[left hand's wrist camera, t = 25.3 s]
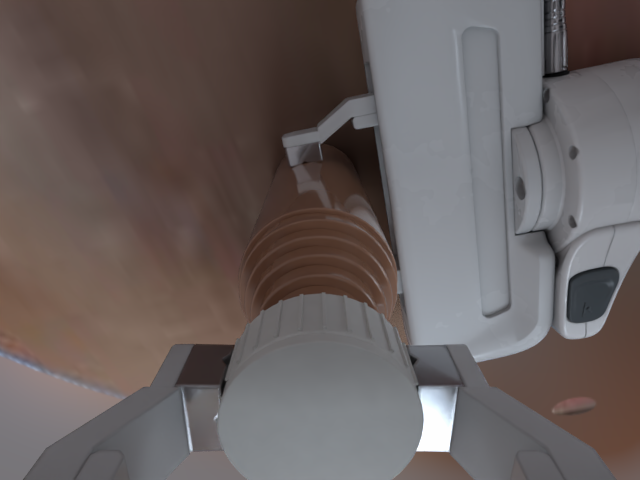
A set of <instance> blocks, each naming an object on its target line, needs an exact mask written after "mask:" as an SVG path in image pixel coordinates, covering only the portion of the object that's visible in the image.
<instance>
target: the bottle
mask: <svg viewBox="0 0 640 480" xmlns="http://www.w3.org/2000/svg"><path fill="white" fill-rule="evenodd" d="M321 148H322V154H323V161H319V162H310V163H308V162H306V161H304V162H303V163H302V164H300V165H298V166H293V167H290V166H288V162H287V158H286V156H285V157H284V158H283V160H282V161H281V163H280V164H279V166H278V168H277V171H276V173H275V176H274V178H273V181H272V183H271V186H270V189H269V191H268V194H267V196H266V199H265V201H264V204H263V206H262V209H261V211H260V214H259V216H258V219H257V221H256V224H255V226H254V229H253V232H252V234H251V237H250V239H249V242H248V244H247V247H246V249H245V252H244V254H243V257H242V259H241V263H240V268H239V277H238V281H239V298H240V303H241V307H242V310H243V313H244V315H245V317H246V319H247V321H248V323H251V322H252V321H253V320H254V319H255V318H256V317H257V316H259V315H260V312H261V311H262V310H264V311H265V310H267V309H268V308H270V307H272V306H273V305H275V304H277V303H279V301H280V300H282V301H284V300H287V299H290V298H293V297H297V296H300V294H303V295H308V294H320V293H321V294H322V292H325V294H332V295H339V296H344V295H346V296H347V298H351V299H354V300H356V301H359V302H362V303H364V302H365V303H367V305H368V306H369V307H371V308H372V309H374V310H375V311H377V312H378V313H379V314H381V313H383V314H384V316H385V319H386V320H387V321H389V319H390V318H391V316H392V313H393V310H394V308H395V304H396V300H397V282H398V277H397V267H396V262H395V259H394V256H393V254H392V251H391V249H390V246H389V244H388V242H387V240H386V237H385V235H384V233H383V231H382V228H381V226H380V224H379V221H378V219H377V217H376V215H375V212H374V210H373V208H372V206H371V203H370V201H369V199H368V196H367V194H366V192H365V190H364V187H363V185H362V183H361V180H360V178H359V176H358V174H357V171H356V169H355V167H354V165H353V163H352V162H351V160H350V159H349V158H348V157H347V156H346V154H344V153H343V152H342V151H341V150H339V149H337V148H336V147H333V146H331V145H328V144H323V143H322V144H321Z"/></svg>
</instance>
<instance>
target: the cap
mask: <svg viewBox="0 0 640 480" xmlns="http://www.w3.org/2000/svg"><path fill="white" fill-rule="evenodd" d="M225 381H226V384H225V387H224V390H223V393H222V396H219V399H221V403H220V406H219V410H218V418H217V425H218V434H219V438H220V442H221V445H222V447H223V450H224V452H225V454H226V456H227V457H228V459H229V461H230V462H231V463H232V464H233V466H234V467H235V468H236V469H237V470H238V471H239V472H240V473H241V474H242V475H243V476H244V477H245V478H246V479H248V480H392V479H393V478H394V477H396V476H397V475H398V474H399V473H400V472H401V471H402V470H403V469H404V468H405V467H406V466H407V465H408V463H409V462H410V460H411V459H412V458H413V456H414V454H415V452H416V451H417V449H418V447H419V444H420V441H421V438H422V433H423V427H424V414H423V408H422V403H421V400H420V397H419V394H418V391H417V388H416V386H417V385H419V384H418V381H417V378H416V375H415V372H414V369H413V366H412V363H411V360H410V357H409V354H408V351H407V348H406V345H405V343H402V342H401V340H400V336H399V333H398V330H397V328H396V327H394V328H393V327H392V325H391V324H390V323H389V322H388V321H387V320H386V319H385V316H384V314H383V313H381V314H379V313H378V312H377V311H375V310H374V309H372V308H371V307H369V306H368V305H367V303H365V302H364V303H362V302H359V301H356V300H354V299H351V298H347V296H346V295H344V296H339V295H332V294H325V292H322V294H321V293H320V294H308V295H303V294H300V296H297V297H293V298H290V299H287V300H284V301H282V300H280V301H279V303H277V304H275V305H273V306H272V307H270V308H268V309H267V310H265V311H264V310H262V311H261V312H260V315H259V316H257V317H256V318H255V319H254V320H253V321H252V322H251V323H247V325H246V327H245V331H244V333H243V334H242V336H241V338H240V339H238V338H237V340H236V343H235V346H234V350H233V353H232V357H231V360H230V363H229V365H228V369H227V373H226V377H225Z"/></svg>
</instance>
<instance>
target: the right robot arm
mask: <svg viewBox="0 0 640 480" xmlns="http://www.w3.org/2000/svg"><path fill="white" fill-rule="evenodd" d="M564 9H565V0H357V3H356V14H357V21H358V28H359V34H360V41H361V47H362V54H363V61H364V67H365V74H366V80H367V87H368V93H367V94H362V95H358V96H353V97H348V98H345V99H344V100H343V101H342V102H341V103H340V104H339V105H338V106H337V107H336V108H335V109H333V110H332V111H331V112H330V113H329V114H328V115H327V116H326V117H325V118H324V119H322V120H321V121H320V122H319V123H318V124H317V127H314V128H309V129H304V130H299V131H294V132H290V133H287V134H284V135H283V136H282V141H283V146H284V150H285V154H286V158H287V162H288V166H290V167H293V166H298V165H300V164H302V163H303V162H304V161H306V162H308V163H310V162H319V161H323V154H322V148H321V144H322V143H323V142H324V141H325V140H326V139H328V138H329V137H330V136H331V135H332V134H333V133H334V132H336V131H337V130H338V129H339V128H340V127H341V126H342V125H344V124H345V123H346V122H347V121H348V120H349V119H350V120H351V124H352V125H353V127H354V128H355V129H362V128H367V127H373V126H374V133H375V140H376V146H377V153H378V159H379V166H380V173H381V179H382V186H383V192H384V199H385V206H386V212H387V219H388V225H389V232H390V239H391V245H392V252H393V256H394V259H395V262H396V267H397V277H398V282H397V294H399V298H400V305H401V311H402V318H403V324H404V330H405V334H406V337H407V341H408V344H409V345H444V344H465V345H467V347H468V348H469V350H470V352H471V354H472V356H473V358H474V359H475V361H476V362H481V361H486V360H490V359H495V358H499V357H503V356H508V355H511V354H515V353H518V352H521V351H524V350H526V349H529V348H531V347H532V346H534V345H536V344H537V343H539V342H540V341H541V340H542V339H543V338H544V337H545V336H546V334H547V333H548V331H549V330H550V327H552V328H553V329H555V330H556V331H557V332H558V333H559V334H560V335H562V336H563V337H564V338H567V339H580V338H586V337H590V336H593V335H595V334H596V333H598V332H599V331H600V330H601V328H602V327H603V325H604V323H605V321H606V319H607V316H608V314H609V311H610V309H611V306H612V304H613V302H614V299H615V297H616V295H617V292H618V290H619V288H620V286H621V284H622V282H623V280H624V277H625V276H626V274H627V272H628V270H629V268H630V266H631V264H632V263H633V261H634V259H635V258H636V256H637V254H638V253H639V251H640V58H634V59H626V60H622V61H617V62H612V63H607V64H602V65H598V66H593V67H588V68H583V69H578V70H573V71H568V37H567V30H566V28H567V25H566V23H565V22H566V17H565V10H564Z"/></svg>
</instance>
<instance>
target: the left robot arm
mask: <svg viewBox="0 0 640 480" xmlns="http://www.w3.org/2000/svg"><path fill="white" fill-rule="evenodd" d="M234 346H235V345H216V344H196V345H195V344H175V345H173V346H172V347H171V349H170V351H169V353H168V355H167V356H166V358H165V360H164V362H163V364H162V366H161V367H160V369H159V371H158V373H157V375H156V377H155V378H154V380H153V382H152V384H151V386H150V387H143V388H141V389H140V390H138V391H137V392H135V393H133V394H132V395H130V396H129V397H127V398H125V399H124V400H122V401H121V402H119V403H118V404H116V405H114V406H113V407H111V408H110V409H108V410H106V411H105V412H103V413H102V414H100V415H98V416H97V417H95V418H93V419H92V420H90V421H89V422H87V423H86V424H84V425H82V426H81V427H79V428H78V429H76V430H74V431H73V432H71V433H70V434H68V435H66V436H65V437H63V438H62V439H60V440H58V441H57V442H55V443H54V444H52V445H50V446H49V447H47V448H46V449H45V450H44V452H43V453H42V454H41V456H40V457H39V459H38V460H37V461H36V463H35V464H34V465H33V467H32V468H31V469H30V471H29V472H28V474H27V475H26V476H25V478H24V479H23V480H165V479H166V478H167V477H168V476H169V475H170V474H171V473H172V472H173V471H174V470H175V469H176V468H177V467H178V466H179V465H180V464H181V463H182V462H183V461H184V460H185V459H186V458H187V457H188V456H189V454H190V452H199V451H224V450H223V447H222V445H221V442H220V438H219V434H218V425H217V418H218V410H219V406H220V403H221V399H219V396H222V393H223V390H224V387H225V384H226V381H225V377H226V373H227V369H228V365H229V363H230V360H231V357H232V353H233V350H234ZM406 348H407V351H408V354H409V357H410V360H411V363H412V366H413V369H414V372H415V375H416V378H417V381H418V384H419V385H417V386H416V388H417V391H418V394H419V397H420V400H421V403H422V408H423V414H424V427H423V433H422V438H421V441H420V444H419V447H418V449H417V451H440V452H450V455H451V456H452V457H453V458H454V459H455V460H456V461H457V462H458V463H459V464H460V465H461V466H462V467H463V468H464V469H465V470H466V471H467V472H468V473H469V475H470V476H471V477H472V478H473V479H474V480H616V478H615V477H614V476H613V474H612V473H611V471H610V470H609V469H608V467H607V466H606V465H605V463H604V462H603V460H602V459H601V458H600V456H599V455H598V454H597V452H596V451H595V449H593V448H592V447H590V446H589V445H587V444H586V443H584V442H582V441H581V440H579V439H578V438H576V437H574V436H573V435H571V434H570V433H568V432H566V431H565V430H563V429H562V428H560V427H558V426H557V425H555V424H554V423H552V422H551V421H549V420H547V419H546V418H544V417H543V416H541V415H539V414H538V413H536V412H535V411H533V410H532V409H530V408H528V407H527V406H525V405H524V404H522V403H520V402H519V401H517V400H516V399H514V398H513V397H511V396H509V395H508V394H506V393H505V392H503V391H501V390H500V389H498V388H497V387H489V385H488V383H487V381H486V379H485V378H484V376H483V374H482V372H481V370H480V369H479V367H478V365H477V363H476V361H475V359H474V358H473V356H472V354H471V352H470V350H469V348H468V347H467V345H465V344H444V345H406Z"/></svg>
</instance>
